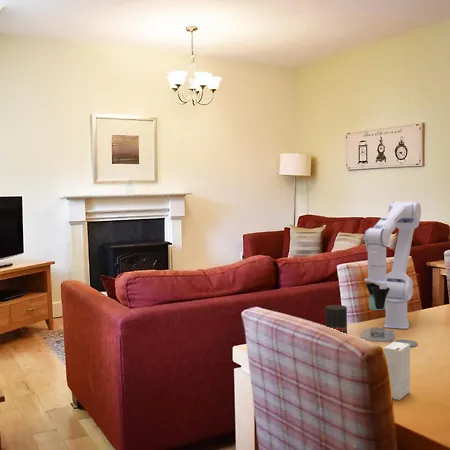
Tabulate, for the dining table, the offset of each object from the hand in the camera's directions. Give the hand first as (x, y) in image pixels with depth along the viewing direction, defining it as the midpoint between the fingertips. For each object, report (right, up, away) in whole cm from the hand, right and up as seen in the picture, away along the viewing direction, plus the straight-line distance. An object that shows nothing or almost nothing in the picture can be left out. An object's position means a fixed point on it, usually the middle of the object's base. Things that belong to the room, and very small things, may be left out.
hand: (377, 306), depth 177 cm
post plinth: (0, -10, +1) cm, 10 cm away
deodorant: (-17, -12, -19) cm, 28 cm away
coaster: (+7, -10, -8) cm, 15 cm away
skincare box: (-8, -14, -47) cm, 50 cm away
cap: (0, -1, 0) cm, 0 cm away
